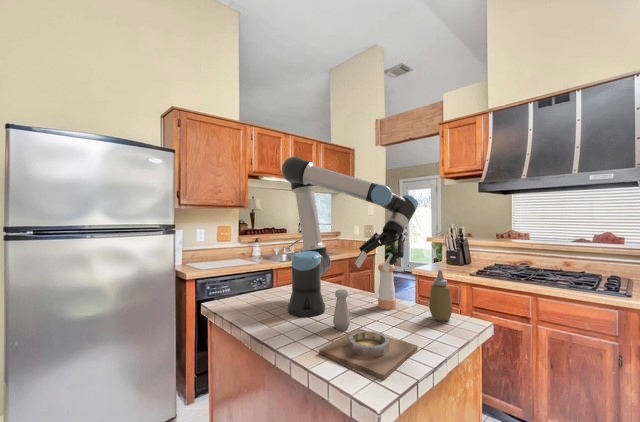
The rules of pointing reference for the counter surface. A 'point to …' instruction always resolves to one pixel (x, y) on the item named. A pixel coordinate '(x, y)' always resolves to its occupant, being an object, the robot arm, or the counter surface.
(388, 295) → the pepper shaker
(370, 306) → the counter surface
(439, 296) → the squeeze bottle
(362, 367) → the collar board
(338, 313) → the salt shaker
